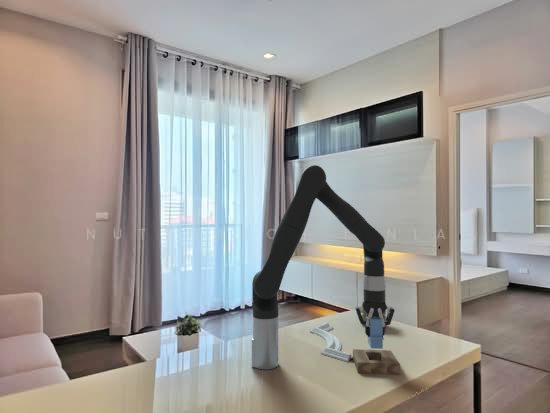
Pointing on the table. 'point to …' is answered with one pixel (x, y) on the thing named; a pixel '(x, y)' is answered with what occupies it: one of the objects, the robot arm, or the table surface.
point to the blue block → (376, 333)
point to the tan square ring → (376, 361)
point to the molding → (331, 343)
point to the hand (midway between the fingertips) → (374, 336)
